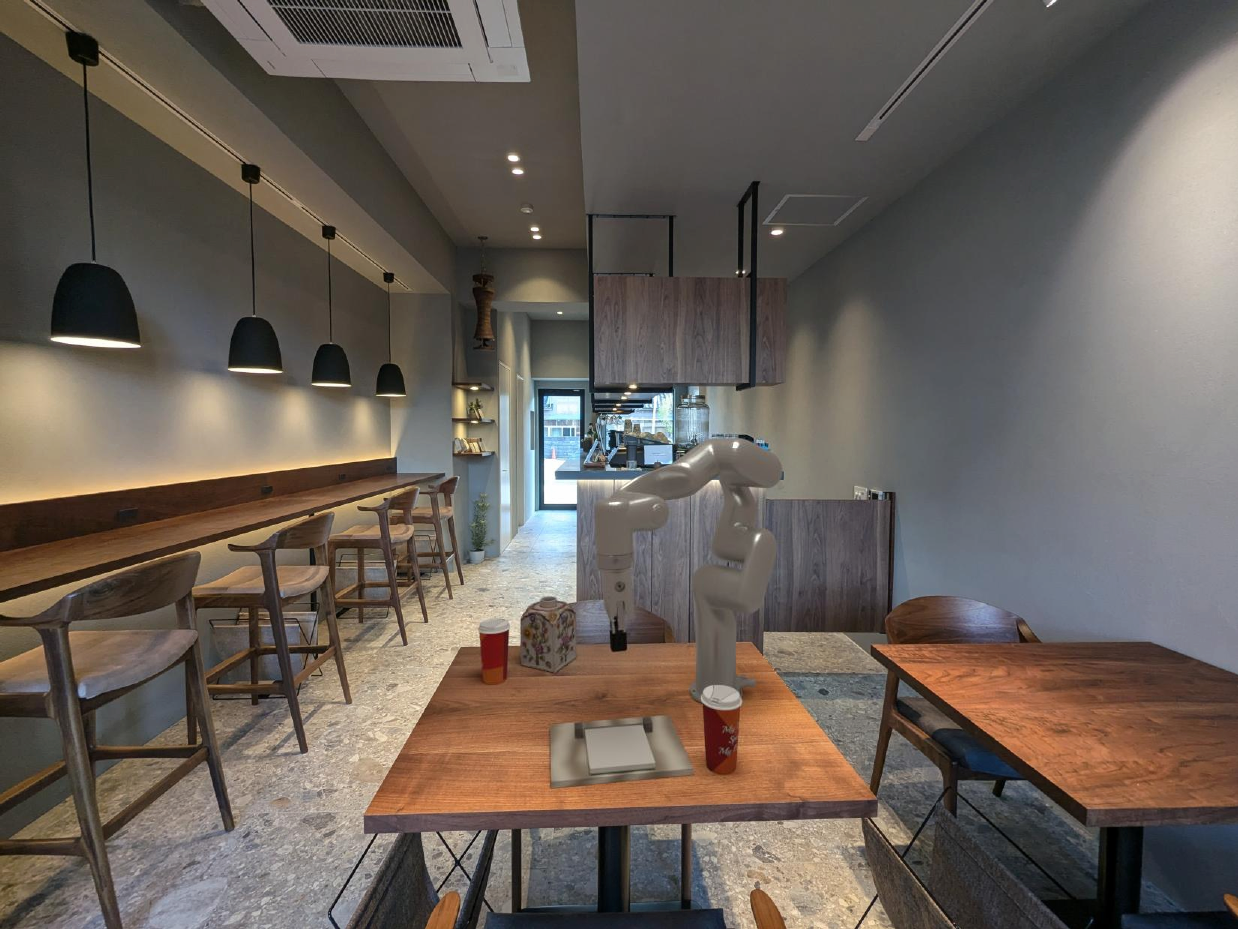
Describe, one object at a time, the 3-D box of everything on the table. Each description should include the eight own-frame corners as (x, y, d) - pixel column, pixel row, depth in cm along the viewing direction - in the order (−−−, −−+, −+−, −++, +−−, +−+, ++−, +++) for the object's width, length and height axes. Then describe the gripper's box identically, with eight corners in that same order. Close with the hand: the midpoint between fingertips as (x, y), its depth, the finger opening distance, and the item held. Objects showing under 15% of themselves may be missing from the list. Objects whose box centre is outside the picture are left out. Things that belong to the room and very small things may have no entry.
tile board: (669, 720, 115) (669, 706, 114) (693, 774, 96) (693, 757, 96) (550, 730, 111) (549, 715, 111) (550, 788, 92) (550, 770, 92)
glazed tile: (641, 722, 109) (655, 762, 95) (641, 727, 109) (655, 768, 95) (584, 726, 108) (590, 768, 94) (584, 732, 108) (590, 774, 94)
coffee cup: (496, 670, 141) (495, 615, 140) (517, 677, 136) (517, 621, 135) (471, 681, 134) (470, 624, 133) (492, 690, 129) (491, 630, 128)
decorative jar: (543, 650, 154) (543, 590, 153) (577, 657, 148) (577, 595, 148) (519, 666, 143) (518, 601, 142) (554, 674, 138) (554, 607, 137)
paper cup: (733, 783, 93) (733, 707, 93) (693, 769, 97) (694, 696, 97) (747, 761, 100) (748, 689, 99) (709, 748, 104) (710, 679, 103)
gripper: (641, 568, 97) (644, 664, 98) (626, 550, 112) (630, 633, 113) (601, 572, 96) (605, 668, 97) (591, 553, 110) (595, 637, 112)
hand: (618, 649), depth 105 cm, fingers closed
